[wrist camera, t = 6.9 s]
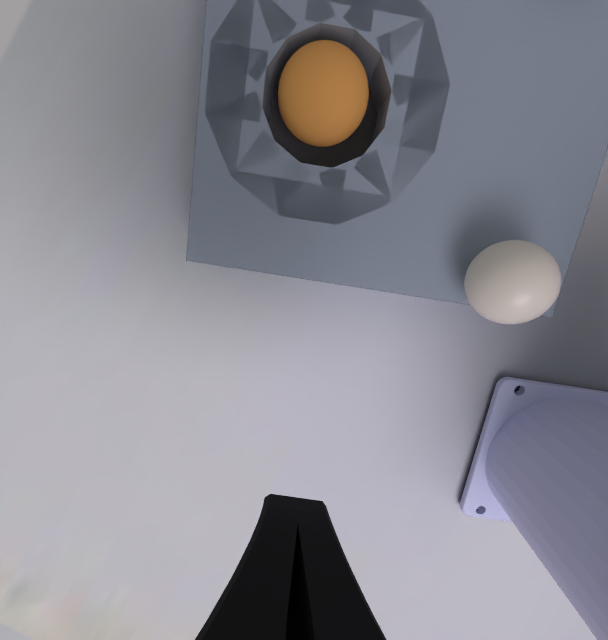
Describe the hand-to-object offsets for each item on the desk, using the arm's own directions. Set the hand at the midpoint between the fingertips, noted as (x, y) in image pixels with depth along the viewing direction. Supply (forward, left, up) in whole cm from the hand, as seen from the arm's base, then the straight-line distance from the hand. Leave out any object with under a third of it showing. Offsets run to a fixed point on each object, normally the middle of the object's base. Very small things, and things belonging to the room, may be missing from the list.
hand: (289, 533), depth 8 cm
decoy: (-7, -6, -6) cm, 11 cm away
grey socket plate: (-2, -11, -10) cm, 15 cm away
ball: (+1, -12, -8) cm, 14 cm away
